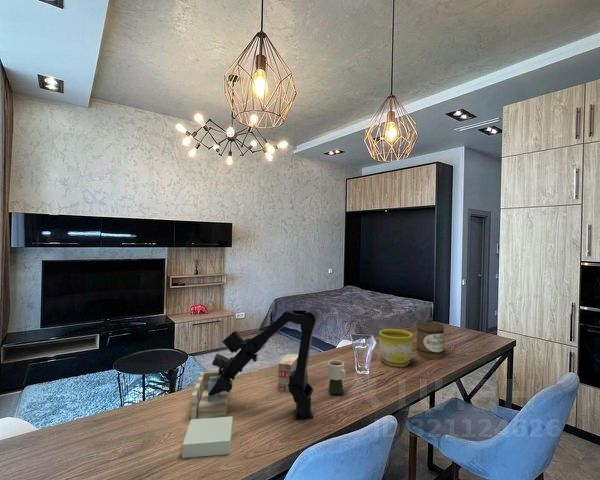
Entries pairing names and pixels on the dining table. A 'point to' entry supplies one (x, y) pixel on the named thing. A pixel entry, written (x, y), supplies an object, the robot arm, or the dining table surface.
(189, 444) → the pad
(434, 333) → the wooden container
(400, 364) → the flowerpot
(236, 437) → the dining table surface
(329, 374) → the character mug
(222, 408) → the beige stepped piece
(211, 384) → the slate block
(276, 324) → the robot arm
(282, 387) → the stack of blocks
